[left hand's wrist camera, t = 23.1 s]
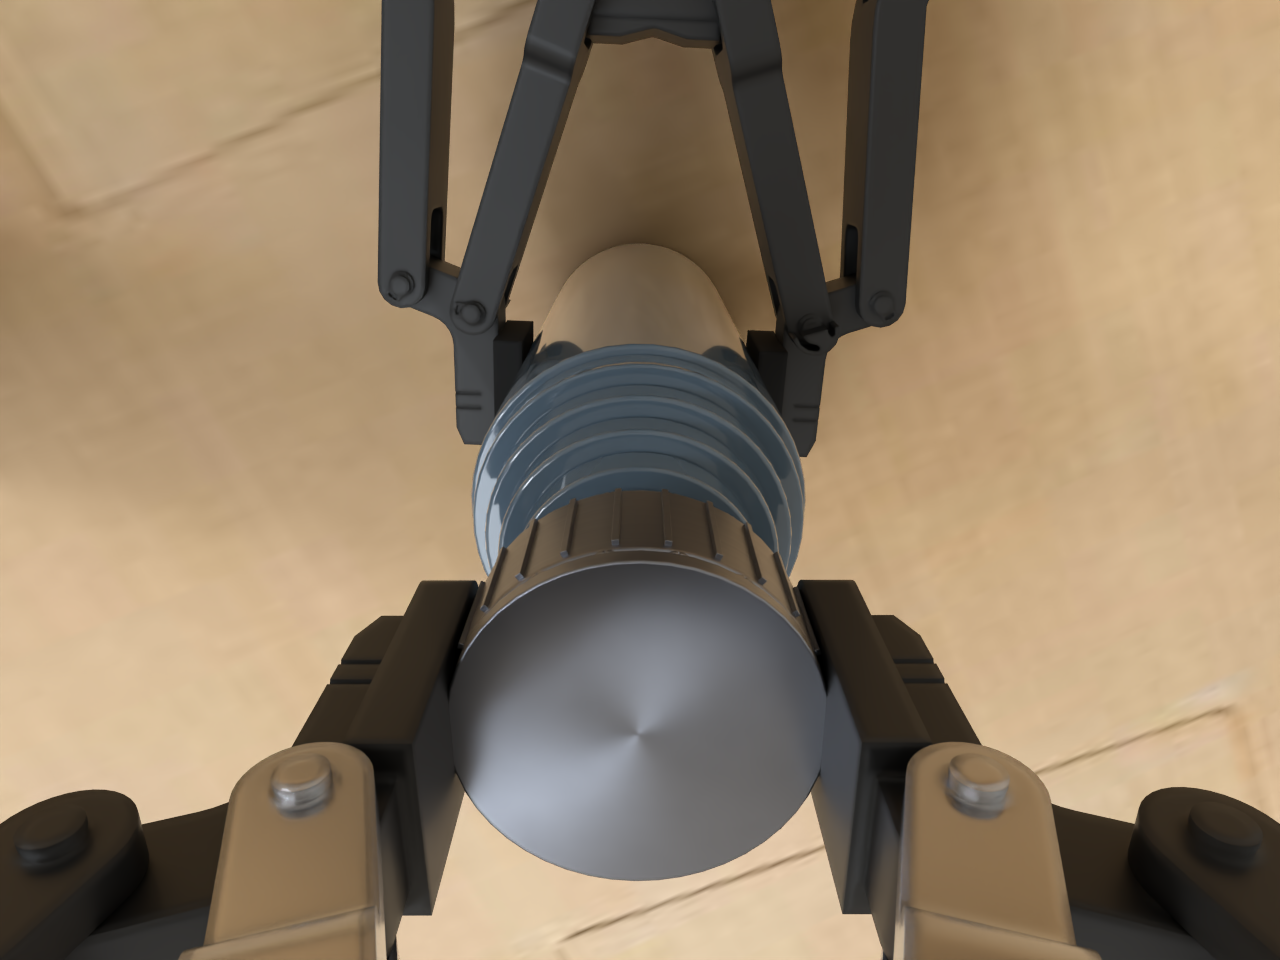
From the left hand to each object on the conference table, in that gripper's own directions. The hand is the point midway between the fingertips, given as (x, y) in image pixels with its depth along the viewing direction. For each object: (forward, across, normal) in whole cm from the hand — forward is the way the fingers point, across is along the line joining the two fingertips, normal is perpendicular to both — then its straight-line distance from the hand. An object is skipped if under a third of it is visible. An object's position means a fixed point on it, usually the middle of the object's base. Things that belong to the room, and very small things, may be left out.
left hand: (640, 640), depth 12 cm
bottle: (+20, 0, 0) cm, 20 cm away
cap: (-2, 0, 0) cm, 2 cm away
